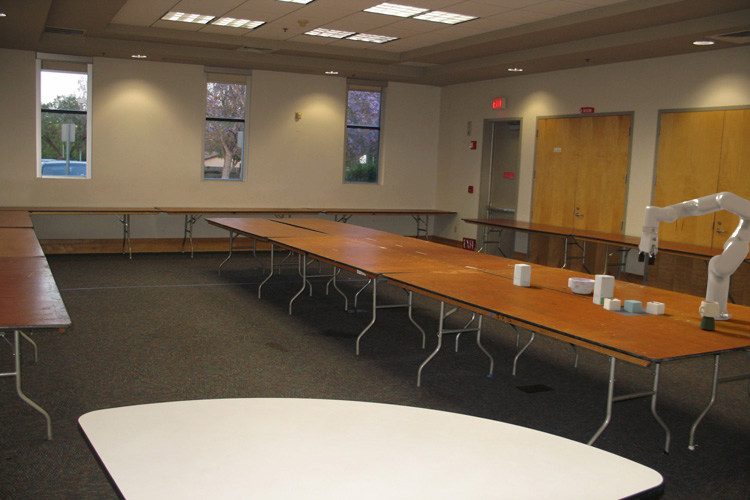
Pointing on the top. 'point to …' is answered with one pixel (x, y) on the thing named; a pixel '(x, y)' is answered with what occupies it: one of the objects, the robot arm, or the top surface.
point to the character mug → (708, 314)
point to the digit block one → (655, 308)
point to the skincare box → (603, 288)
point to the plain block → (632, 306)
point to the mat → (627, 313)
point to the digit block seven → (612, 304)
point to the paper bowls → (581, 285)
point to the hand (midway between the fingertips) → (645, 263)
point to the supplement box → (522, 275)
